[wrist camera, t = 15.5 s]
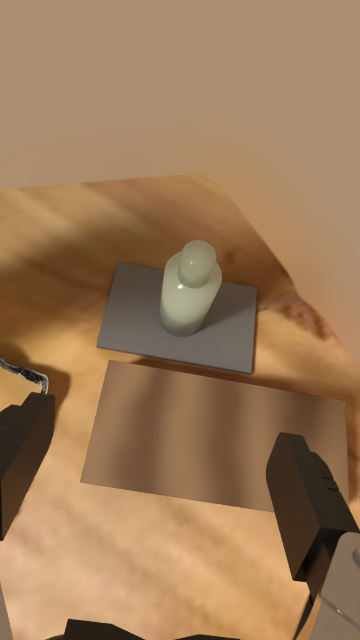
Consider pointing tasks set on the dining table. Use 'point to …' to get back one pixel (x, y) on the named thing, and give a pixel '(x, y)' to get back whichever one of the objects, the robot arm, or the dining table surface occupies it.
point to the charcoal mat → (154, 341)
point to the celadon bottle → (189, 288)
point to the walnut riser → (204, 435)
